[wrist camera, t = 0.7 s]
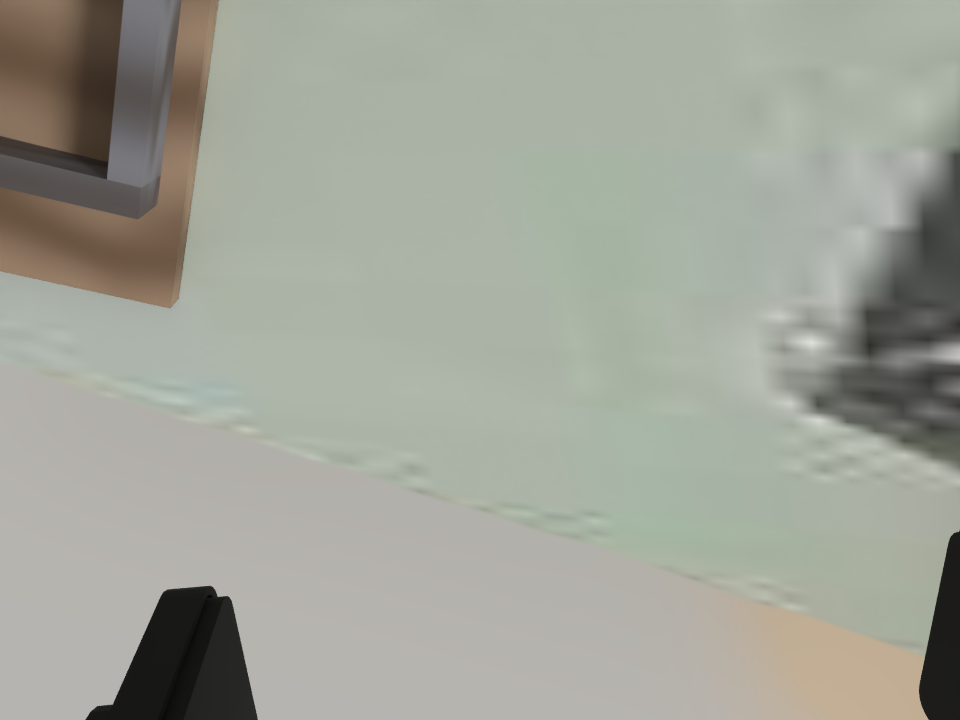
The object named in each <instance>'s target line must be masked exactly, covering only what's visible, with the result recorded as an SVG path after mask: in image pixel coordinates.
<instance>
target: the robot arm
mask: <svg viewBox="0 0 960 720" xmlns="http://www.w3.org/2000/svg"><path fill="white" fill-rule="evenodd" d="M919 695H920V701H921V705H922V707H923V710H924V712H925V714H926V716H927V717H928V719H929V720H960V531H959V532H956V533H954V534H953V535H952V536H951V537H950V540H949V543H948V548H947V553H946V558H945V562H944V567H943V572H942V577H941V582H940V587H939V592H938V597H937V602H936V606H935V611H934V616H933V621H932V626H931V631H930V636H929V641H928V646H927V651H926V655H925V660H924V665H923V670H922V675H921V680H920V686H919ZM86 720H258V719H257V714H256V709H255V705H254V700H253V696H252V691H251V687H250V682H249V677H248V673H247V668H246V664H245V660H244V655H243V650H242V645H241V641H240V636H239V632H238V627H237V623H236V618H235V614H234V609H233V605H232V601H231V599H230V598H229V597H228V596H223V597H217V594H216V591H215V589H214V588H213V587H212V586H203V587H192V588H180V589H169V590H166V591H164V592H163V594H162V596H161V597H160V599H159V602H158V604H157V606H156V609H155V611H154V613H153V615H152V617H151V620H150V622H149V624H148V626H147V629H146V631H145V633H144V635H143V638H142V640H141V642H140V644H139V647H138V649H137V651H136V654H135V656H134V658H133V660H132V663H131V665H130V667H129V669H128V671H127V674H126V676H125V678H124V681H123V683H122V685H121V687H120V690H119V692H118V694H117V696H116V699H115V701H114V703H113V705H104V706H97V707H96V708H95V709H94V710H92V711H91V712H90V713H89V715H88V717H87V718H86Z"/></svg>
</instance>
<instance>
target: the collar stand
mask: <svg viewBox="0 0 960 720" xmlns="http://www.w3.org/2000/svg"><path fill="white" fill-rule="evenodd" d="M218 1H219V0H0V271H2V272H7V273H11V274H16V275H21V276H25V277H30V278H34V279H39V280H43V281H48V282H52V283H57V284H62V285H66V286H71V287H75V288H80V289H84V290H89V291H93V292H98V293H103V294H107V295H112V296H116V297H121V298H125V299H130V300H135V301H139V302H144V303H148V304H153V305H157V306H162V307H166V308H171V307H172V306H173V305H174V304H175V302H176V301H177V300H178V299H179V291H180V284H181V276H182V269H183V261H184V254H185V247H186V239H187V232H188V224H189V217H190V209H191V202H192V195H193V187H194V180H195V172H196V165H197V157H198V150H199V143H200V135H201V128H202V120H203V113H204V105H205V98H206V90H207V83H208V76H209V68H210V61H211V53H212V46H213V38H214V31H215V24H216V16H217V9H218Z"/></svg>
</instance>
